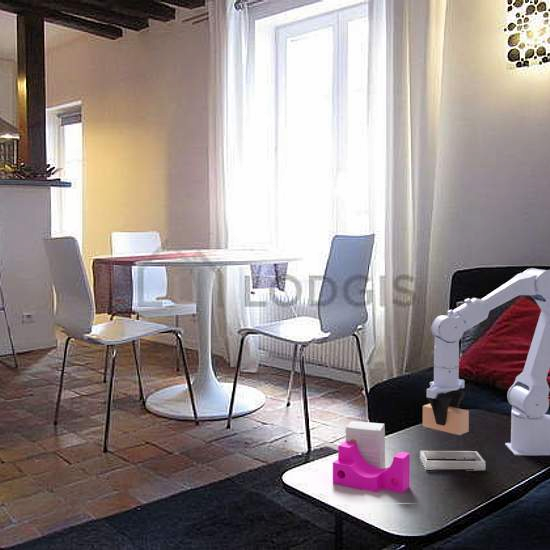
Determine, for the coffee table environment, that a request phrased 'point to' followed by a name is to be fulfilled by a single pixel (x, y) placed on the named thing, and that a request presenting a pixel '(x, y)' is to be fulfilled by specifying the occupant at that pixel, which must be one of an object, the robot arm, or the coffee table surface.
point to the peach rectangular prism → (447, 420)
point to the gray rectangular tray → (431, 465)
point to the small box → (368, 441)
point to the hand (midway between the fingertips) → (445, 422)
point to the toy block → (370, 471)
